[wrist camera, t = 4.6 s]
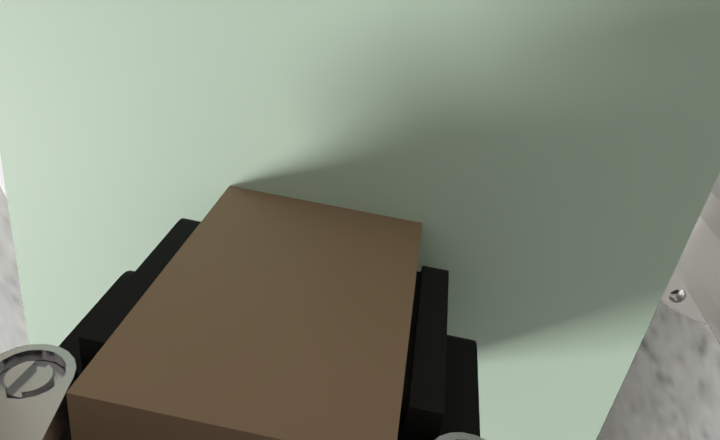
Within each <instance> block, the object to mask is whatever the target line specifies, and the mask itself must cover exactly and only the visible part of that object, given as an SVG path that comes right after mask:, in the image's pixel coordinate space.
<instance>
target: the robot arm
mask: <svg viewBox="0 0 720 440" xmlns="http://www.w3.org/2000/svg"><path fill="white" fill-rule="evenodd" d="M199 224H200V221H195V220H190V219H185V218H181V219H180V220H179V221H178V222H177V223H176V224H175V225H174V227H173V228H172V229H171V230H170V231H169V232H168V234H167V235H166V236H165V237H164V238H163V239H162V241H161V242H160V243H159V244H158V245H157V246H156V248H155V249H154V250H153V251H152V252H151V253H150V255H149V256H148V257H147V258H146V259H145V260H144V262H143V263H142V264H141V265H140V266H139V267H138V269H137V270H136V271H131V270H129V271H126V272H125V273H123V274H122V275H121V276H120V277H119V278H118V280H117V281H116V282H115V283H114V284H113V285H112V286H111V287H110V289H109V290H108V291H107V292H106V293H105V294H104V295H103V296H102V298H101V299H100V300H99V301H98V302H97V303H96V304H95V306H94V307H93V308H92V309H91V310H90V311H89V312H88V313H87V315H86V316H85V317H84V318H83V319H82V320H81V321H80V322H79V324H78V325H77V326H76V327H75V328H74V329H73V330H72V331H71V333H70V334H69V335H68V336H67V337H66V338H65V339H64V341H63V342H62V343H61V344H60V345H59V346H54V345H49V344H30V345H25V346H21V347H16V348H14V349H11V350H9V351H6V352H4V353H2V354H0V440H72V439H71V430H70V422H69V414H68V405H67V397H66V392H67V391H68V390H69V388H70V387H71V386H72V385H73V383H74V382H75V381H76V379H77V378H78V377H79V376H80V374H81V373H82V372H83V371H84V369H85V368H86V367H87V366H88V364H89V363H90V362H91V360H92V359H93V358H94V357H95V355H96V354H97V353H98V352H99V350H100V349H101V348H102V347H103V345H104V344H105V343H106V341H107V340H108V339H109V338H110V336H111V335H112V334H113V333H114V331H115V330H116V329H117V328H118V326H119V325H120V324H121V322H122V321H123V320H124V319H125V317H126V316H127V315H128V314H129V312H130V311H131V310H132V309H133V307H134V306H135V305H136V303H137V302H138V301H139V300H140V298H141V297H142V296H143V295H144V293H145V292H146V291H147V290H148V288H149V287H150V286H151V284H152V283H153V282H154V281H155V279H156V278H157V277H158V276H159V274H160V273H161V272H162V271H163V269H164V268H165V267H166V265H167V264H168V263H169V262H170V260H171V259H172V258H173V257H174V255H175V254H176V253H177V252H178V250H179V249H180V248H181V246H182V245H183V244H184V243H185V241H186V240H187V239H188V238H189V236H190V235H191V234H192V233H193V231H194V230H195V229H196V227H197V226H198V225H199ZM448 285H449V271H448V270H443V269H438V268H433V267H428V266H422V269H421V272H417V273H416V282H415V291H414V299H413V308H412V316H411V325H410V334H409V342H408V351H407V360H406V368H405V377H404V385H403V394H402V403H401V411H400V420H399V428H398V437H397V440H485V439H483V438H481V437H480V415H479V387H478V359H477V343H476V341H475V340H470V339H465V338H461V337H456V336H451V335H447V317H448ZM661 300H662V301H663V302H664V303H665V304H666V305H667V306H668V307H670V308H672V309H673V310H675V311H677V312H678V313H680V314H682V315H683V316H685V317H687V318H690V319H693V320H696V321H698V322H701V323H704V324H708V325H709V327H710V329H711V330H712V332H713V334H714V335H715V337H716V339H717V341H718V342H719V344H720V173H719V175H718V177H717V180H716V182H715V184H714V186H713V188H712V190H711V192H710V195H709V197H708V199H707V201H706V203H705V205H704V208H703V210H702V212H701V214H700V216H699V218H698V221H697V223H696V225H695V227H694V229H693V231H692V234H691V236H690V238H689V240H688V242H687V244H686V246H685V249H684V251H683V253H682V255H681V257H680V259H679V262H678V264H677V266H676V268H675V270H674V272H673V275H672V277H671V279H670V281H669V283H668V285H667V287H666V290H665V292H664V294H663V296H662V298H661Z"/></svg>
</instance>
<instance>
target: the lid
mask: <svg viewBox="0 0 720 440" xmlns="http://www.w3.org/2000/svg"><path fill="white" fill-rule="evenodd" d="M0 156H1V162H2V169H3V175H4V182H5V189H6V195H7V202H8V209H9V215H10V222H11V228H12V235H13V242H14V248H15V255H16V261H17V268H18V275H19V281H20V288H21V295H22V301H23V308H24V314H25V321H26V328H27V334H28V341H29V345H30V344H49V345H54V346H59V345H60V344H61V343H62V342H63V341H64V339H65V338H66V337H67V336H68V335H69V334H70V333H71V331H72V330H73V329H74V328H75V327H76V326H77V325H78V324H79V322H80V321H81V320H82V319H83V318H84V317H85V316H86V315H87V313H88V312H89V311H90V310H91V309H92V308H93V307H94V306H95V304H96V303H97V302H98V301H99V300H100V299H101V298H102V296H103V295H104V294H105V293H106V292H107V291H108V290H109V289H110V287H111V286H112V285H113V284H114V283H115V282H116V281H117V280H118V278H119V277H120V276H121V275H122V274H123V273H125V272H126V271H129V270H131V271H136V270H137V269H138V267H139V266H140V265H141V264H142V263H143V262H144V260H145V259H146V258H147V257H148V256H149V255H150V253H151V252H152V251H153V250H154V249H155V248H156V246H157V245H158V244H159V243H160V242H161V241H162V239H163V238H164V237H165V236H166V235H167V234H168V232H169V231H170V230H171V229H172V228H173V227H174V225H175V224H176V223H177V222H178V221H179V220H180V219H181V218H185V219H190V220H195V221H200V224H199V225H198V226H197V227H196V229H195V230H194V231H193V233H192V234H191V235H190V236H189V238H188V239H187V240H186V241H185V243H184V244H183V245H182V246H181V248H180V249H179V250H178V252H177V253H176V254H175V255H174V257H173V258H172V259H171V260H170V262H169V263H168V264H167V265H166V267H165V268H164V269H163V271H162V272H161V273H160V274H159V276H158V277H157V278H156V279H155V281H154V282H153V283H152V284H151V286H150V287H149V288H148V290H147V291H146V292H145V293H144V295H143V296H142V297H141V298H140V300H139V301H138V302H137V303H136V305H135V306H134V307H133V309H132V310H131V311H130V312H129V314H128V315H127V316H126V317H125V319H124V320H123V321H122V322H121V324H120V325H119V326H118V328H117V329H116V330H115V331H114V333H113V334H112V335H111V336H110V338H109V339H108V340H107V341H106V343H105V344H104V345H103V347H102V348H101V349H100V350H99V352H98V353H97V354H96V355H95V357H94V358H93V359H92V360H91V362H90V363H89V364H88V366H87V367H86V368H85V369H84V371H83V372H82V373H81V374H80V376H79V377H78V378H77V379H76V381H75V382H74V383H73V385H72V386H71V387H70V388H69V390H68V391H67V392H66V397H67V405H68V414H69V422H70V430H71V439H72V440H397V437H398V428H399V420H400V411H401V403H402V394H403V385H404V377H405V368H406V360H407V351H408V342H409V334H410V325H411V316H412V308H413V299H414V291H415V282H416V273H417V272H421V269H422V266H428V267H433V268H438V269H443V270H448V271H449V285H448V317H447V335H451V336H456V337H461V338H465V339H470V340H475V341H476V343H477V359H478V387H479V415H480V437H481V438H483V439H485V440H596V439H597V436H598V434H599V432H600V430H601V428H602V426H603V424H604V421H605V419H606V417H607V415H608V413H609V411H610V408H611V406H612V404H613V402H614V400H615V398H616V395H617V393H618V391H619V389H620V387H621V385H622V382H623V380H624V378H625V376H626V374H627V372H628V370H629V367H630V365H631V363H632V361H633V359H634V357H635V354H636V352H637V350H638V348H639V346H640V344H641V341H642V339H643V337H644V335H645V333H646V331H647V329H648V326H649V324H650V322H651V320H652V318H653V316H654V313H655V311H656V309H657V307H658V305H659V303H660V300H661V298H662V296H663V294H664V292H665V290H666V287H667V285H668V283H669V281H670V279H671V277H672V275H673V272H674V270H675V268H676V266H677V264H678V262H679V259H680V257H681V255H682V253H683V251H684V249H685V246H686V244H687V242H688V240H689V238H690V236H691V234H692V231H693V229H694V227H695V225H696V223H697V221H698V218H699V216H700V214H701V212H702V210H703V208H704V205H705V203H706V201H707V199H708V197H709V195H710V192H711V190H712V188H713V186H714V184H715V182H716V180H717V177H718V175H719V173H720V0H0Z"/></svg>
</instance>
